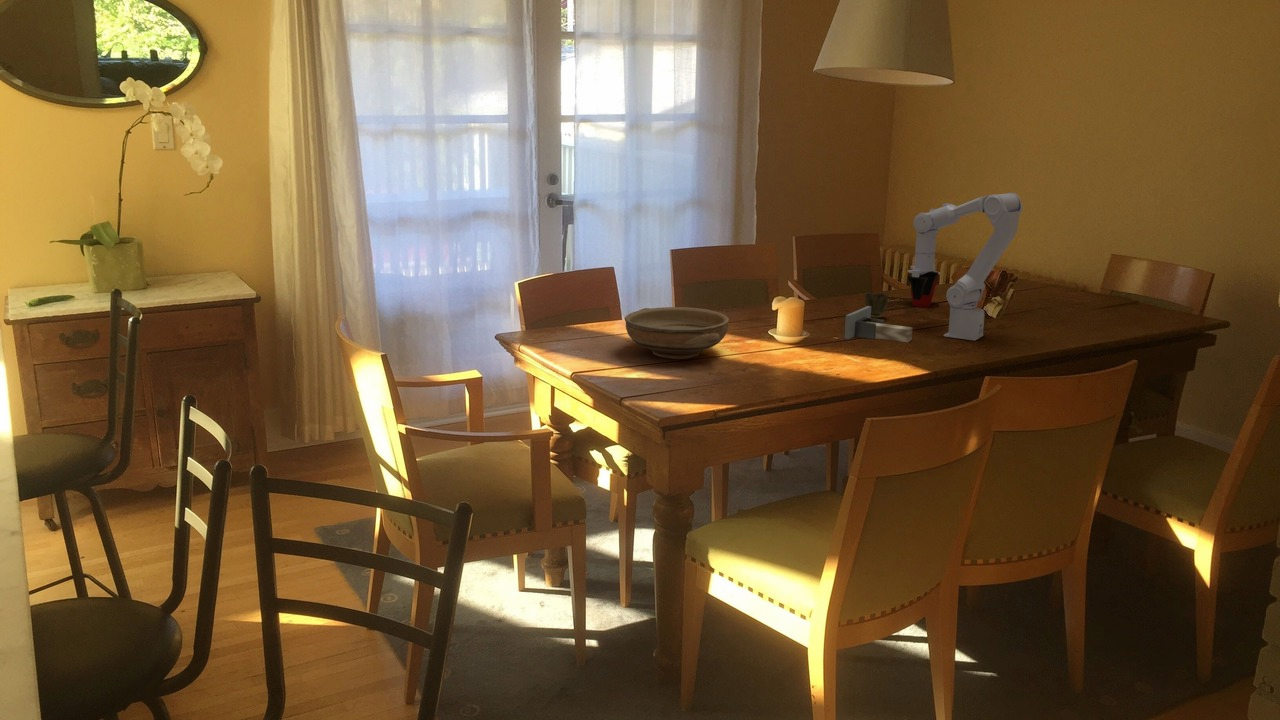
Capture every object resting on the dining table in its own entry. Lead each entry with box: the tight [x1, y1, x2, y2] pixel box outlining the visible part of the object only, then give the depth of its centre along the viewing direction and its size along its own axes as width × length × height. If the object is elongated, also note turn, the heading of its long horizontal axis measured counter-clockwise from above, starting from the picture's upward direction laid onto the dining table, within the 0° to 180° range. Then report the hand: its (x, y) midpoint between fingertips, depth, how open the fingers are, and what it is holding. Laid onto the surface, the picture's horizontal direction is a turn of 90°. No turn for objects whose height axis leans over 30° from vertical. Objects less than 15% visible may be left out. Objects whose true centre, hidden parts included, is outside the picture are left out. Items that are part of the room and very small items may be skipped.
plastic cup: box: [907, 269, 942, 308], centre depth 340 cm, size 11×11×12 cm
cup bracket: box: [853, 317, 885, 340], centre depth 299 cm, size 6×7×4 cm
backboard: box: [844, 306, 871, 340], centre depth 301 cm, size 1×16×7 cm, turn 145°
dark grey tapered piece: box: [864, 291, 890, 319], centre depth 321 cm, size 8×7×8 cm
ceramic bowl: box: [624, 306, 730, 360], centre depth 279 cm, size 37×29×10 cm
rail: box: [868, 322, 913, 343], centre depth 296 cm, size 14×4×4 cm, turn 56°
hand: (921, 297), depth 308 cm, fingers open, 7 cm apart
